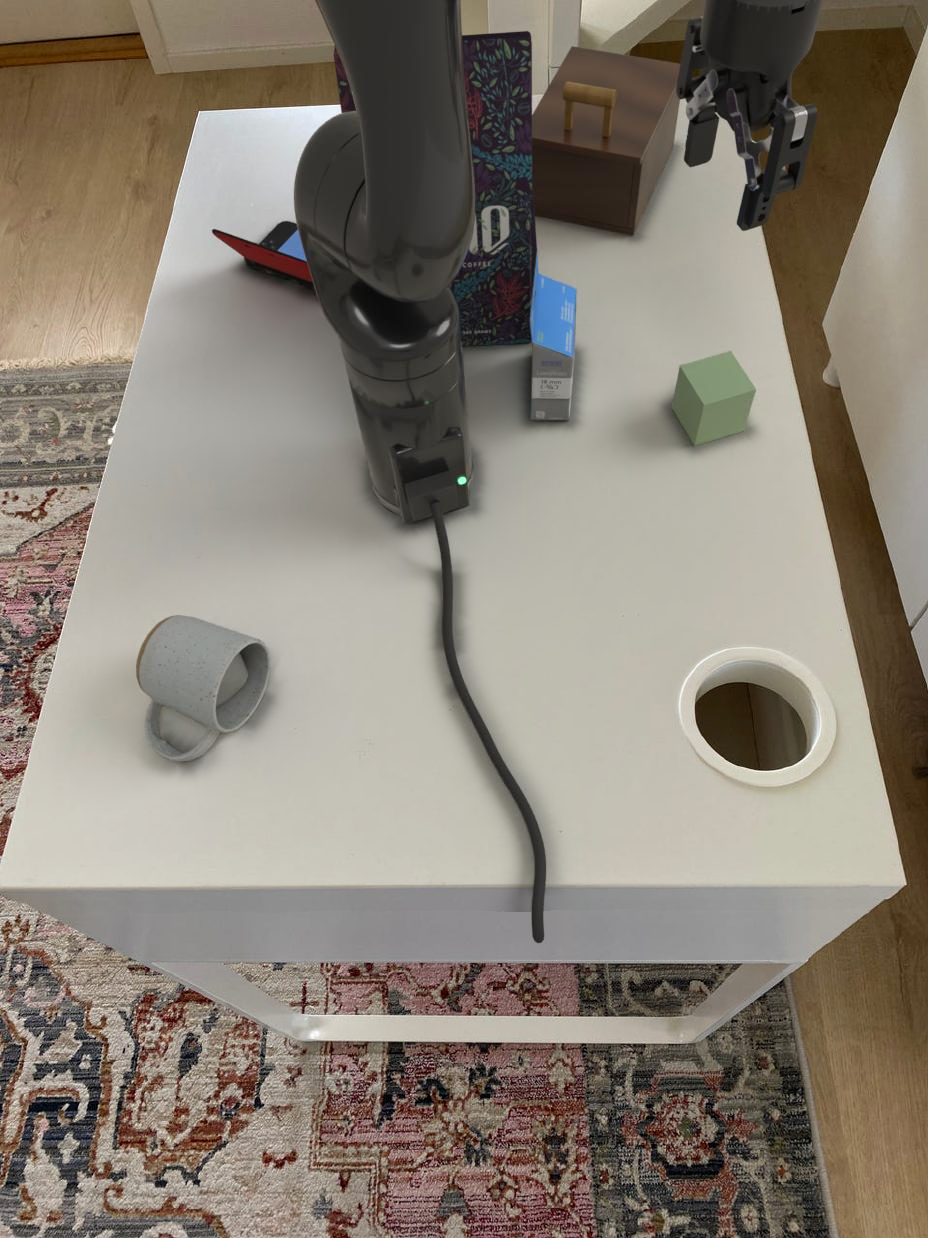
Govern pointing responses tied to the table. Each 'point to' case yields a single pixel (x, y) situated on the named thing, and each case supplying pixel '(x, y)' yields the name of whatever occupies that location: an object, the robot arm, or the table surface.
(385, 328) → the robot arm
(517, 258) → the coffee bag
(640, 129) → the lid
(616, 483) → the table surface
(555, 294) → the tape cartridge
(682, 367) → the block
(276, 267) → the handheld console
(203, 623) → the ceramic mug
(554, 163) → the chest
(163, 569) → the table surface
